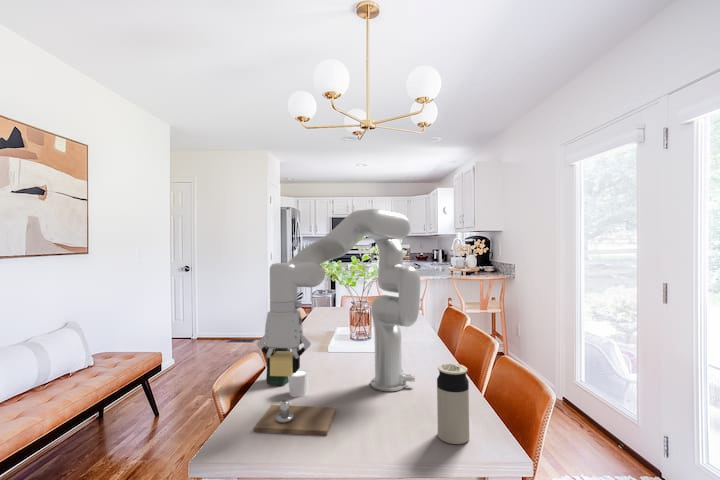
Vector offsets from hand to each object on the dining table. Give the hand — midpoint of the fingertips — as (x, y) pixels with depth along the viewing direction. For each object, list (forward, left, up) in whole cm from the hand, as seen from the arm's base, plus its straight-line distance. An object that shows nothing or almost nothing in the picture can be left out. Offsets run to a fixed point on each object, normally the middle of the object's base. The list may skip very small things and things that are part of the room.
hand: (284, 370), depth 105 cm
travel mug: (-46, +3, -15) cm, 49 cm away
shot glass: (+2, -21, -15) cm, 26 cm away
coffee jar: (+12, -31, -15) cm, 37 cm away
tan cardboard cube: (0, 0, -1) cm, 1 cm away
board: (-3, -2, -15) cm, 16 cm away
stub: (0, 0, -14) cm, 14 cm away
